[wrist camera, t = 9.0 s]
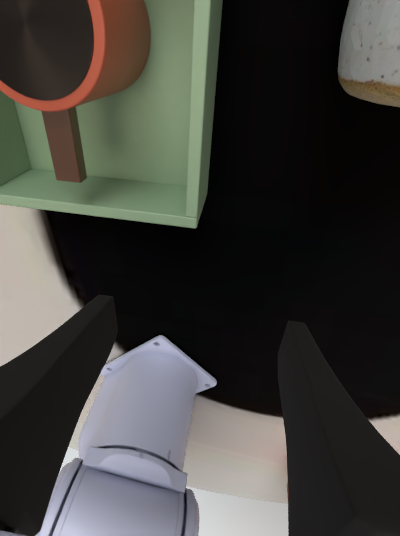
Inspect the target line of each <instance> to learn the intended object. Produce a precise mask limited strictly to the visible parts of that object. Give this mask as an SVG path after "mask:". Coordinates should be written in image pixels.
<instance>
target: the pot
mask: <svg viewBox="0 0 400 536" xmlns="http://www.w3.org/2000/svg"><path fill="white" fill-rule="evenodd" d="M150 42H151V31H150V21H149V16H148V12H147V8H146V4H145V2H144V0H0V91H2V92H3V93H4V94H6V95H7V96H8V97H10V98H11V99H13V100H15V101H16V102H18V103H20V104H22V105H25V106H27V107H29V108H32V109H35V110H39V111H41V112H42V116H43V121H44V126H45V130H46V135H47V139H48V144H49V148H50V153H51V157H52V162H53V167H54V171H55V176H56V180H59V181H67V182H76V183H82V182H83V181H84V180H85V179H87V174H86V168H85V161H84V155H83V149H82V142H81V136H80V130H79V123H78V117H77V111H76V106H79V105H82V104H85V103H88V102H91V101H94V100H97V99H100V98H103V97H106V96H109V95H112V94H115V93H118V92H121V91H123V90H125V89H127V88H128V87H129V86H131V85H132V84H133V83H134V82H135V81H136V80H137V79H138V77H139V76H140V75H141V73H142V71H143V69H144V67H145V65H146V62H147V59H148V55H149V50H150Z"/></svg>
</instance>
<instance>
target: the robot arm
mask: <svg viewBox="0 0 400 536" xmlns="http://www.w3.org/2000/svg"><path fill="white" fill-rule="evenodd" d="M117 333H118V327H117V320H116V313H115V307H114V300H113V297H112V296H105V295H98V296H97V297H96V298H94V299H93V300H92V301H91V302H89V303H88V304H87V305H86V306H85V307H83V308H82V309H81V310H80V311H79V312H77V313H76V314H75V315H74V316H73V317H71V318H70V319H69V320H68V321H66V322H65V323H64V324H63V325H61V326H60V327H59V328H58V329H56V330H55V331H54V332H52V333H51V334H50V335H48V336H47V337H45V338H44V339H43V340H41V341H40V342H39V343H37V344H36V345H34V346H33V347H32V348H30V349H29V350H27V351H26V352H24V353H22V354H21V355H19V356H18V357H16V358H14V359H13V360H11V361H10V362H8V363H6V364H4V365H3V366H1V367H0V536H198V531H199V508H198V503H197V501H196V499H195V496H194V493H193V491H192V490H190V489H187V488H186V482H187V475H188V474H187V473H184V472H183V466H184V460H185V454H186V448H187V442H188V436H189V430H190V424H191V418H192V412H193V406H194V399H195V394H196V393H198V392H201V391H203V390H206V389H209V388H211V387H214V386H216V384H217V380H216V379H215V378H214V377H212V376H211V375H210V374H209V373H208V372H206V371H205V370H204V369H203V368H202V367H200V366H199V365H198V364H197V363H196V362H194V361H193V360H192V359H191V358H190V357H188V356H187V355H186V354H185V353H184V352H182V351H181V350H180V349H179V348H178V347H176V346H175V345H174V344H173V343H172V342H170V341H169V340H168V339H167V338H166V337H164V336H162V335H159V336H157V337H155V338H153V339H151V340H149V341H147V342H146V343H144V344H142V345H140V346H138V347H137V348H135V349H133V350H131V351H129V352H127V353H126V354H124V355H122V356H120V357H118V358H116V359H115V360H113V361H111V362H109V363H107V364H106V365H105V363H106V361H107V359H108V357H109V355H110V352H111V350H112V347H113V344H114V341H115V338H116V335H117ZM100 374H101V375H103V376H104V377H105V378H104V381H103V383H102V385H101V387H100V390H99V392H98V394H97V396H96V398H95V401H94V403H93V405H92V407H91V410H90V412H89V414H88V416H87V418H86V421H85V423H84V425H83V427H82V430H81V433H80V437H79V457H80V458H75V459H74V460H73V461H72V462H70V463H68V464H66V465H65V466H64V467H63V468H62V470H61V471H60V468H61V465H62V462H63V460H64V457H65V454H66V451H67V449H68V446H69V443H70V440H71V438H72V435H73V432H74V430H75V427H76V424H77V422H78V419H79V417H80V414H81V412H82V409H83V407H84V405H85V403H86V401H87V399H88V397H89V395H90V393H91V391H92V389H93V387H94V385H95V383H96V381H97V379H98V377H99V375H100ZM278 381H279V389H280V397H281V404H282V412H283V419H284V427H285V434H286V445H287V470H288V514H289V515H288V521H289V536H400V455H399V454H398V453H397V452H396V451H395V450H394V449H393V448H392V446H391V445H390V444H389V443H388V442H387V441H386V440H385V439H384V438H383V437H382V436H381V435H380V433H379V432H378V431H377V430H376V429H375V428H374V426H373V425H372V424H371V423H370V422H369V420H368V419H367V418H366V417H365V416H364V414H363V413H362V412H361V411H360V409H359V408H358V407H357V405H356V404H355V403H354V402H353V400H352V399H351V397H350V396H349V395H348V393H347V392H346V390H345V389H344V388H343V386H342V385H341V383H340V382H339V380H338V379H337V377H336V376H335V374H334V373H333V371H332V370H331V368H330V366H329V365H328V363H327V362H326V360H325V358H324V357H323V355H322V353H321V352H320V350H319V348H318V346H317V345H316V343H315V341H314V339H313V337H312V336H311V334H310V332H309V330H308V328H307V326H306V324H305V323H303V322H296V321H288V323H287V327H286V330H285V333H284V336H283V339H282V342H281V346H280V349H279V352H278ZM59 471H60V473H59ZM58 474H59V475H58Z"/></svg>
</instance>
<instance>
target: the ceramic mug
mask: <svg viewBox="0 0 400 536" xmlns="http://www.w3.org/2000/svg"><path fill="white" fill-rule="evenodd" d="M338 78H339V82H340V83H341V85H342V87H343V89H344V90H345V91H346V92H347V93H348V94H350V95H352V96H354V97H357V98H359V99H363V100H366V101H370V102H374V103H378V104H384V105H389V106H395V107H400V0H349V5H348V9H347V13H346V17H345V21H344V25H343V30H342V35H341V41H340V52H339V62H338Z"/></svg>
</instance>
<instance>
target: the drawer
mask: <svg viewBox="0 0 400 536" xmlns="http://www.w3.org/2000/svg"><path fill="white" fill-rule="evenodd" d="M144 2H145V4H146V8H147V12H148V16H149V21H150V31H151V42H150V50H149V55H148V59H147V62H146V65H145V67H144V69H143V71H142V73H141V75H140V76H139V77H138V79H137V80H136V81H135V82H134V83H133V84H132V85H131V86H129V87H128V88H127V89H125V90H123V91H121V92H118V93H115V94H112V95H109V96H106V97H103V98H100V99H97V100H94V101H91V102H88V103H85V104H82V105H79V106H76V111H77V117H78V123H79V130H80V136H81V142H82V149H83V155H84V161H85V168H86V174H87V179H85V180H84V181H83V182H82V183H76V182H67V181H59V180H56V176H55V171H54V167H53V162H52V157H51V153H50V148H49V144H48V139H47V135H46V130H45V126H44V121H43V116H42V112H41V111H39V110H35V109H32V108H29V107H27V106H25V105H22V104H20V103H18V102H16V101H15V100H13V99H11V98H10V97H8V96H7V95H6V94H4V93H3V92H2V91H0V204H2V205H10V206H18V207H26V208H35V209H43V210H51V211H59V212H67V213H75V214H83V215H91V216H99V217H107V218H115V219H123V220H131V221H139V222H148V223H156V224H164V225H172V226H180V227H188V228H197V225H198V222H199V218H200V215H201V212H202V209H203V206H204V202H205V199H206V196H207V189H208V176H209V164H210V151H211V139H212V126H213V114H214V101H215V89H216V76H217V64H218V51H219V39H220V26H221V14H222V2H223V0H144Z"/></svg>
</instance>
